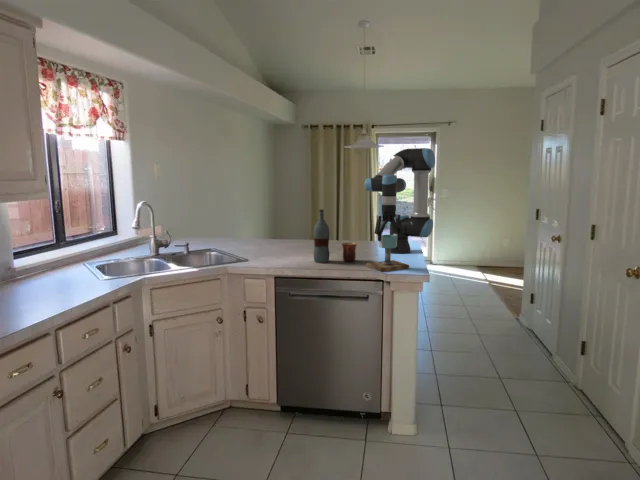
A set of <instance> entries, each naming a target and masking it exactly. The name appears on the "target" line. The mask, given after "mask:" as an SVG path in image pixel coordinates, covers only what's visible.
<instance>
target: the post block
mask: <svg viewBox="0 0 640 480" xmlns="http://www.w3.org/2000/svg"><path fill="white" fill-rule="evenodd" d="M391 254H392V253H391V248H384V260H383V261H373V262H366V266H367V267H366V268H368V267H369V269H371V268H372V270H374V269H375V270H374V271H377V272H380V273H385V272H391V271H402V270H408V269H410V264H407V263H404V262H401V261H397V260H394V259H393V260H392V258H391V257H392V255H391Z"/></svg>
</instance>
